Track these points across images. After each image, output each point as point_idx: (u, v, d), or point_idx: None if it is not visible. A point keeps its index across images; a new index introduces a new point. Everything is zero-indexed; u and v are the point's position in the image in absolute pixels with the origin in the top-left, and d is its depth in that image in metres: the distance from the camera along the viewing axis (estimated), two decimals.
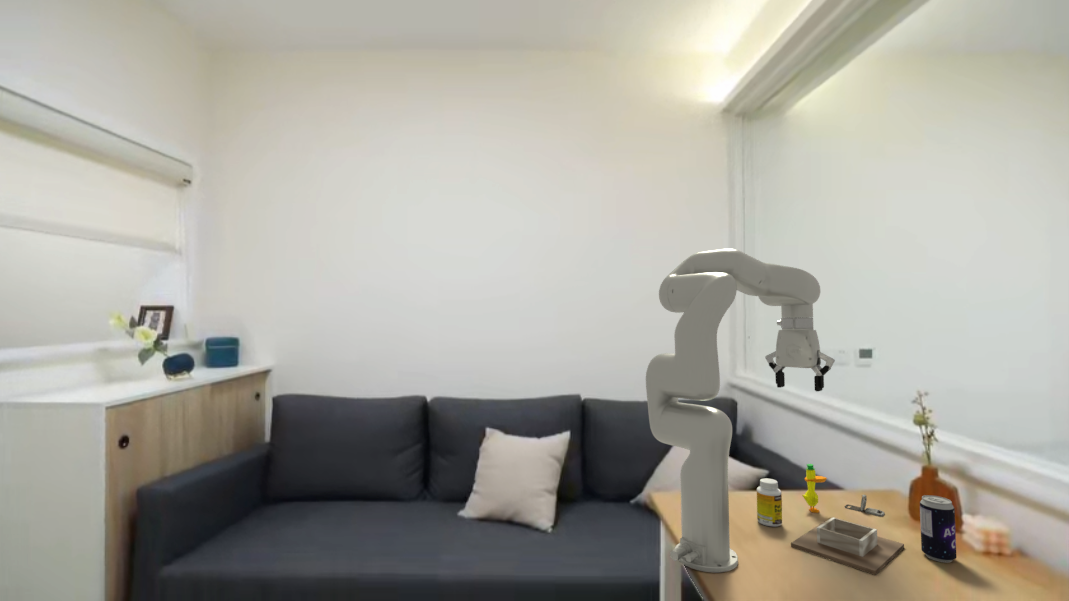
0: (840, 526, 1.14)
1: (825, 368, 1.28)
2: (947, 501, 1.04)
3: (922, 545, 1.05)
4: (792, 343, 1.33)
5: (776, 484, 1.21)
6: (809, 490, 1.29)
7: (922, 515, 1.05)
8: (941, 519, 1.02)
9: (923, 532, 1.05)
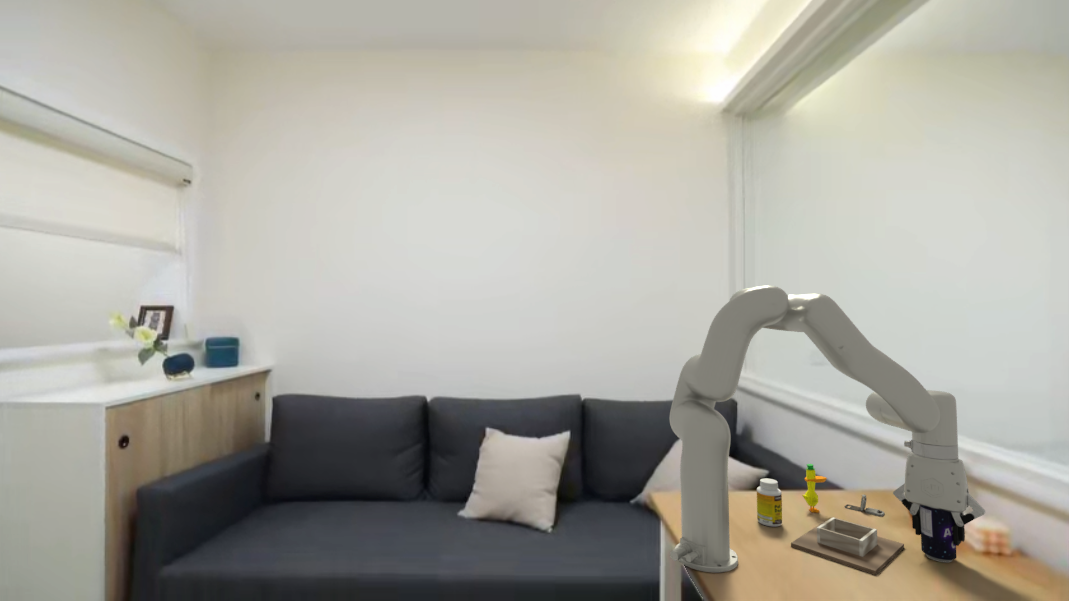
0: (840, 526, 1.14)
1: (969, 517, 1.00)
2: None
3: (922, 545, 1.05)
4: (930, 477, 1.03)
5: (776, 484, 1.21)
6: (809, 490, 1.29)
7: (922, 515, 1.05)
8: (941, 519, 1.02)
9: (923, 532, 1.05)
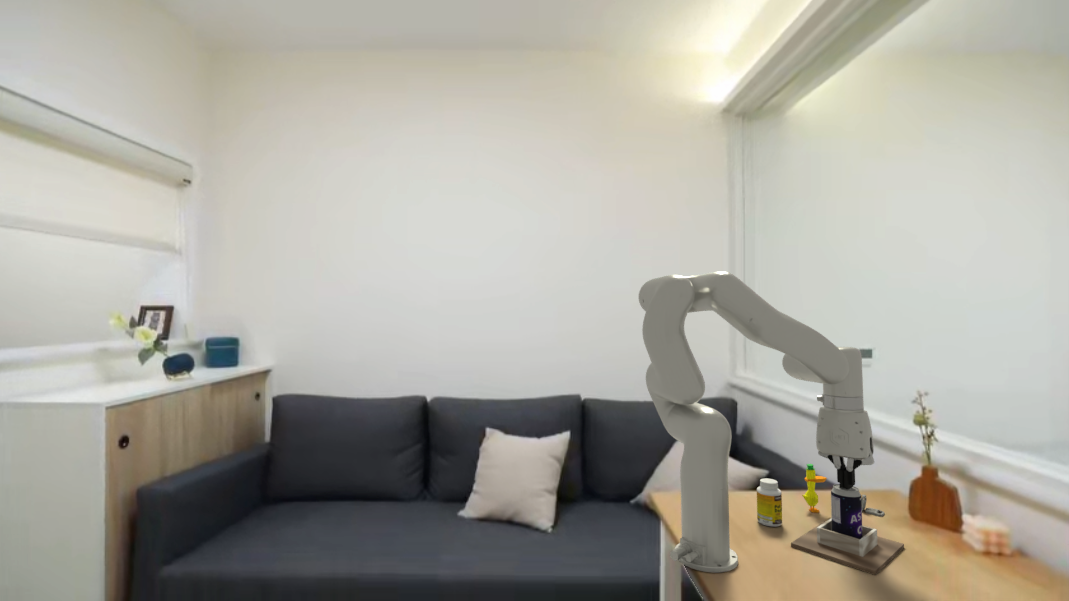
0: None
1: (857, 463, 1.07)
2: (855, 489, 1.09)
3: None
4: (838, 427, 1.09)
5: (776, 484, 1.21)
6: (809, 490, 1.29)
7: (832, 503, 1.10)
8: (849, 506, 1.07)
9: (833, 519, 1.10)
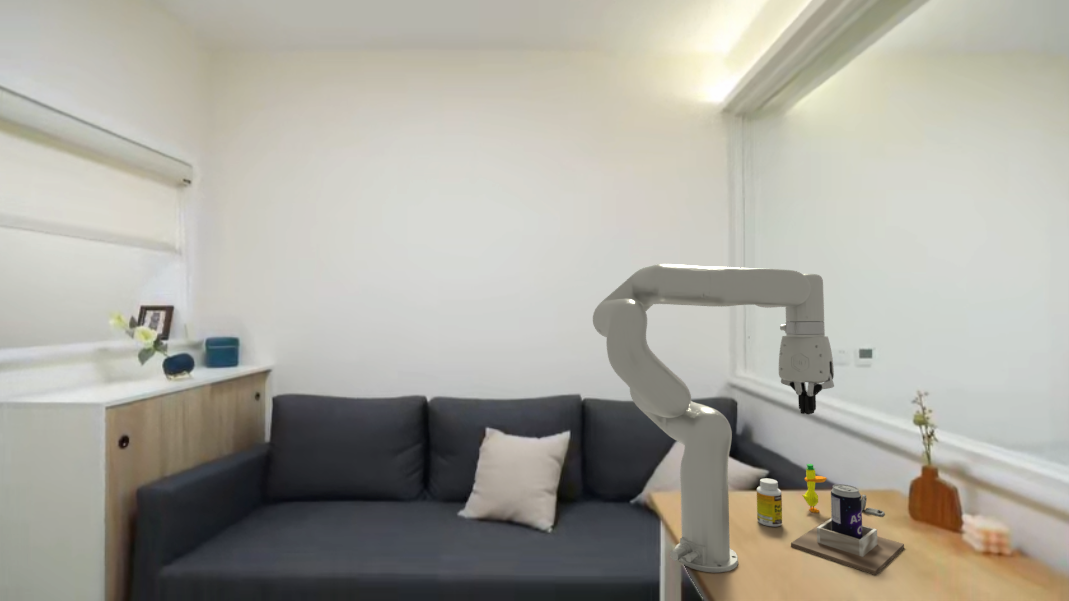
0: None
1: (817, 387, 1.08)
2: (855, 489, 1.09)
3: None
4: (799, 353, 1.09)
5: (776, 484, 1.21)
6: (809, 490, 1.29)
7: (832, 503, 1.10)
8: (848, 506, 1.07)
9: (833, 519, 1.09)
